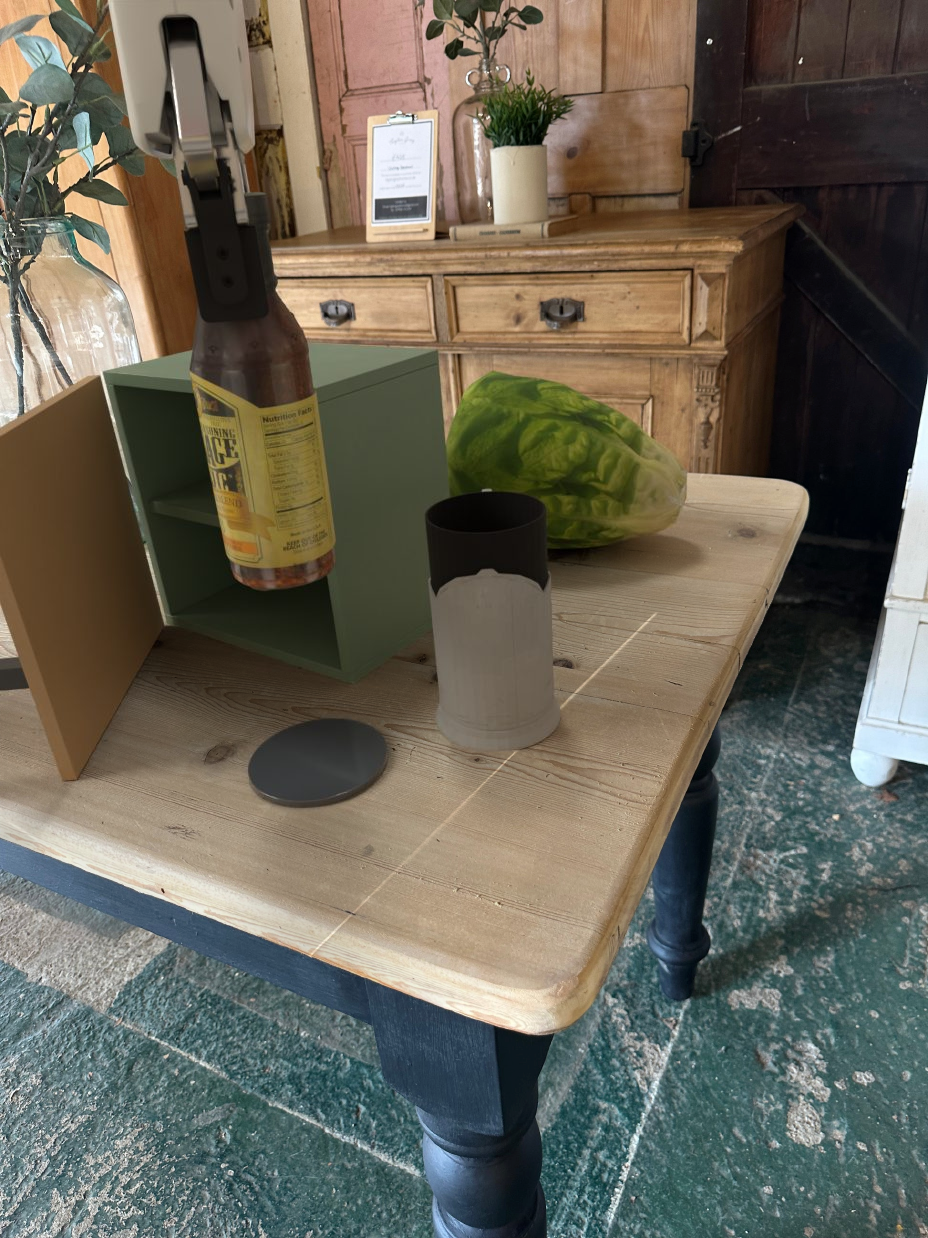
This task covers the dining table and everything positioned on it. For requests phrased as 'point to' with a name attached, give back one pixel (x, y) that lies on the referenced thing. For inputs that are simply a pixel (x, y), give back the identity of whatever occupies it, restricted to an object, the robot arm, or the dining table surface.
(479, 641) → the glass holder
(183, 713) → the dining table surface
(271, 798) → the coaster
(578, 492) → the lettuce
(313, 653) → the cupboard
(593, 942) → the dining table surface
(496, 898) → the dining table surface
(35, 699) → the cupboard door
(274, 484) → the sauce bottle
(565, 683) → the dining table surface
